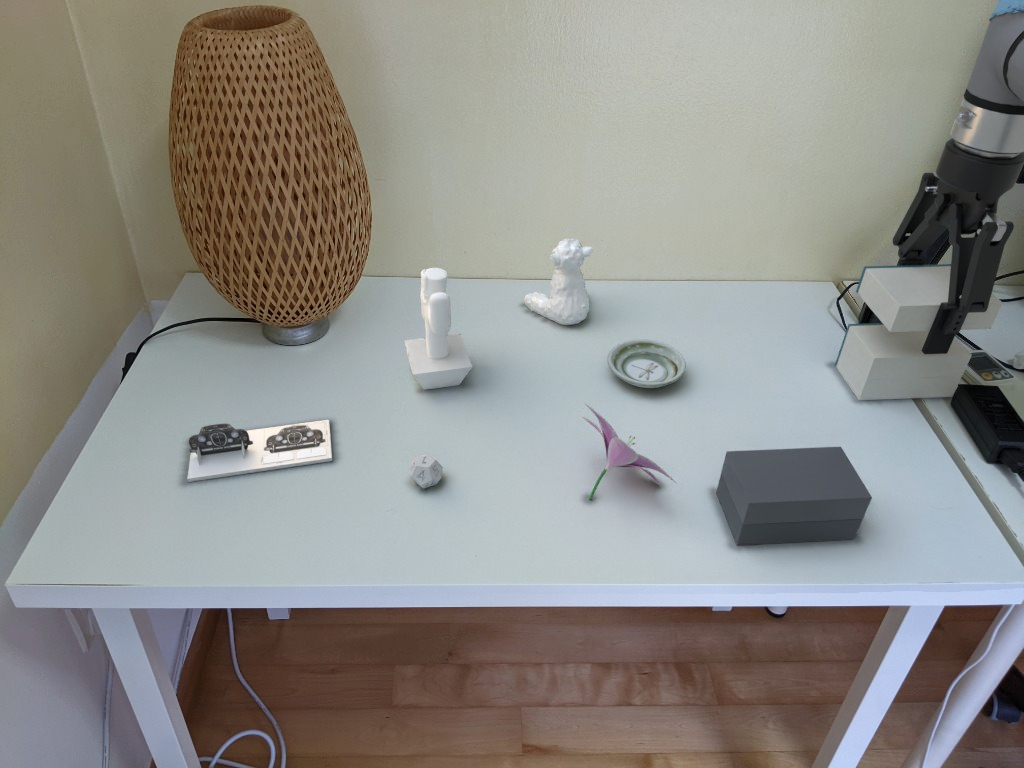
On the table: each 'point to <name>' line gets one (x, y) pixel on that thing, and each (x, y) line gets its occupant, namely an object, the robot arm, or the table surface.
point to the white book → (915, 297)
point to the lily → (621, 452)
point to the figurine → (437, 338)
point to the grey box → (791, 495)
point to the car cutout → (256, 449)
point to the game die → (425, 470)
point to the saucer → (646, 363)
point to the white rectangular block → (897, 364)
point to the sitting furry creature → (564, 286)
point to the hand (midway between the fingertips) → (913, 328)
